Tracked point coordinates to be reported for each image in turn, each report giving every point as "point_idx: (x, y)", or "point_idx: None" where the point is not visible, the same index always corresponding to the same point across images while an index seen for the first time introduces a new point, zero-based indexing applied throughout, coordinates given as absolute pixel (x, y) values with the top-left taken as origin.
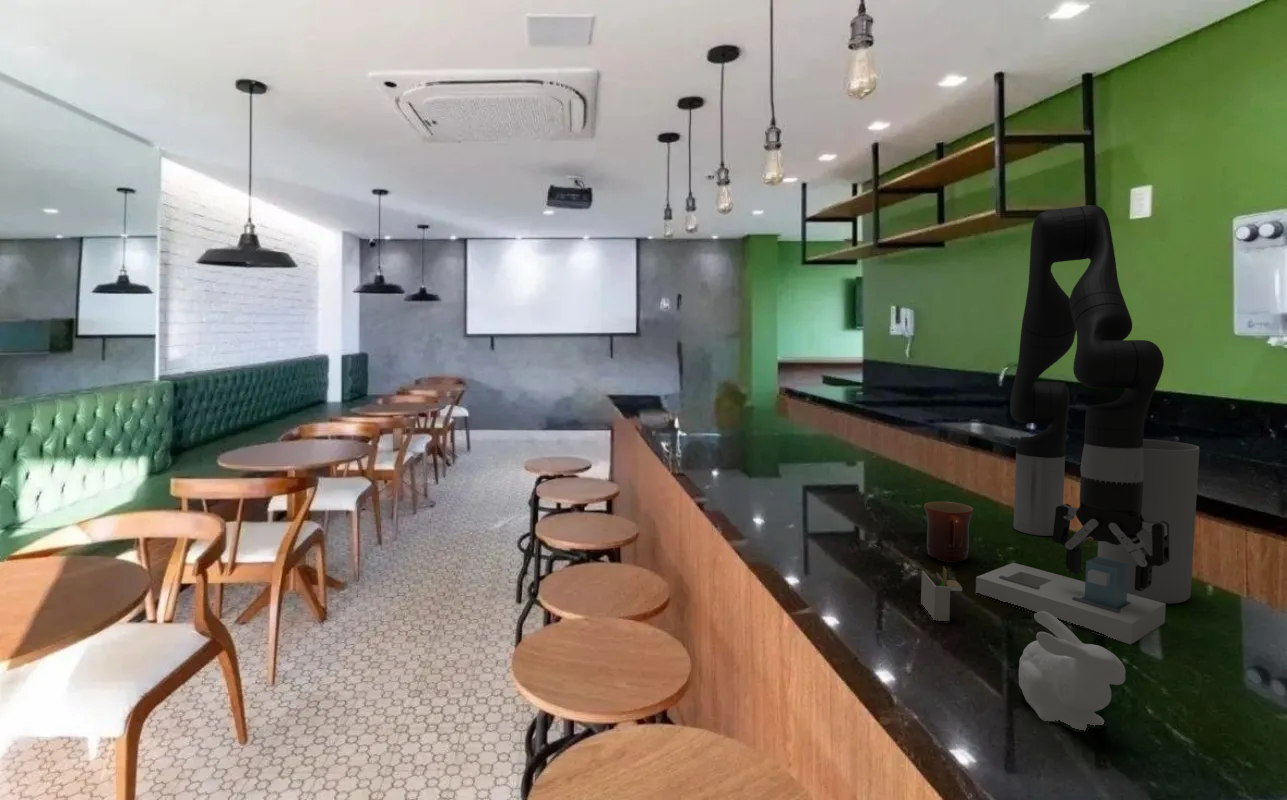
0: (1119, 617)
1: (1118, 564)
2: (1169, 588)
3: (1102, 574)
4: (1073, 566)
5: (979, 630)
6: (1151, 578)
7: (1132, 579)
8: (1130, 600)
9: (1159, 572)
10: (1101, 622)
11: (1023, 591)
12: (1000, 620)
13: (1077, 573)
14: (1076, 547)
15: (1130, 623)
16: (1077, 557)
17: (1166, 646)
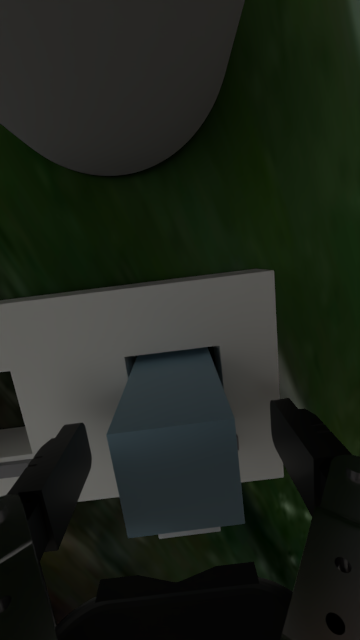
0: (252, 467)
1: (219, 469)
2: (215, 86)
3: (205, 528)
4: (80, 488)
5: None
6: (326, 428)
7: (127, 152)
8: (210, 334)
9: (198, 80)
10: None
11: None
12: (81, 544)
13: (88, 441)
14: (37, 544)
15: (281, 477)
16: (65, 496)
17: (307, 392)
